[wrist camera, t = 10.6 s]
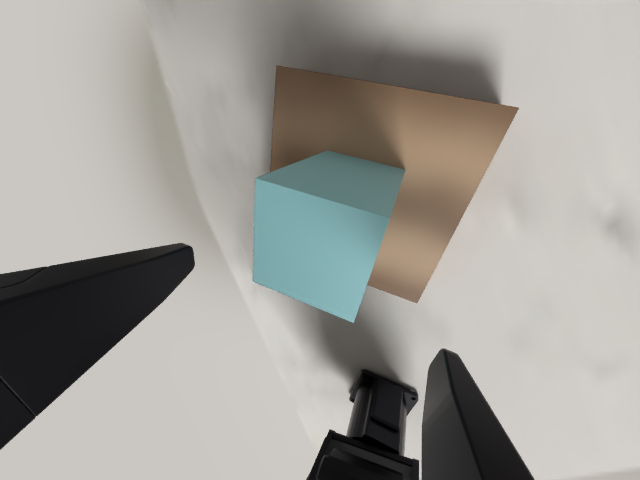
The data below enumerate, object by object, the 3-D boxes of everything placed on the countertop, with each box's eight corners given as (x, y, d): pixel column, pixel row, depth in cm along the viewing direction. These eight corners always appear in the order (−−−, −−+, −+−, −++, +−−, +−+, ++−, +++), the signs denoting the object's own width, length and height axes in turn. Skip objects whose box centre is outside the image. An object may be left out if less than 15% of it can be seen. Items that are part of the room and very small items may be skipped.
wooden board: (417, 280, 21) (417, 303, 18) (282, 232, 24) (265, 246, 21) (502, 108, 14) (519, 107, 11) (298, 72, 17) (276, 65, 14)
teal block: (381, 240, 17) (353, 323, 10) (315, 219, 18) (252, 281, 11) (405, 169, 14) (389, 218, 8) (327, 150, 15) (255, 178, 9)
